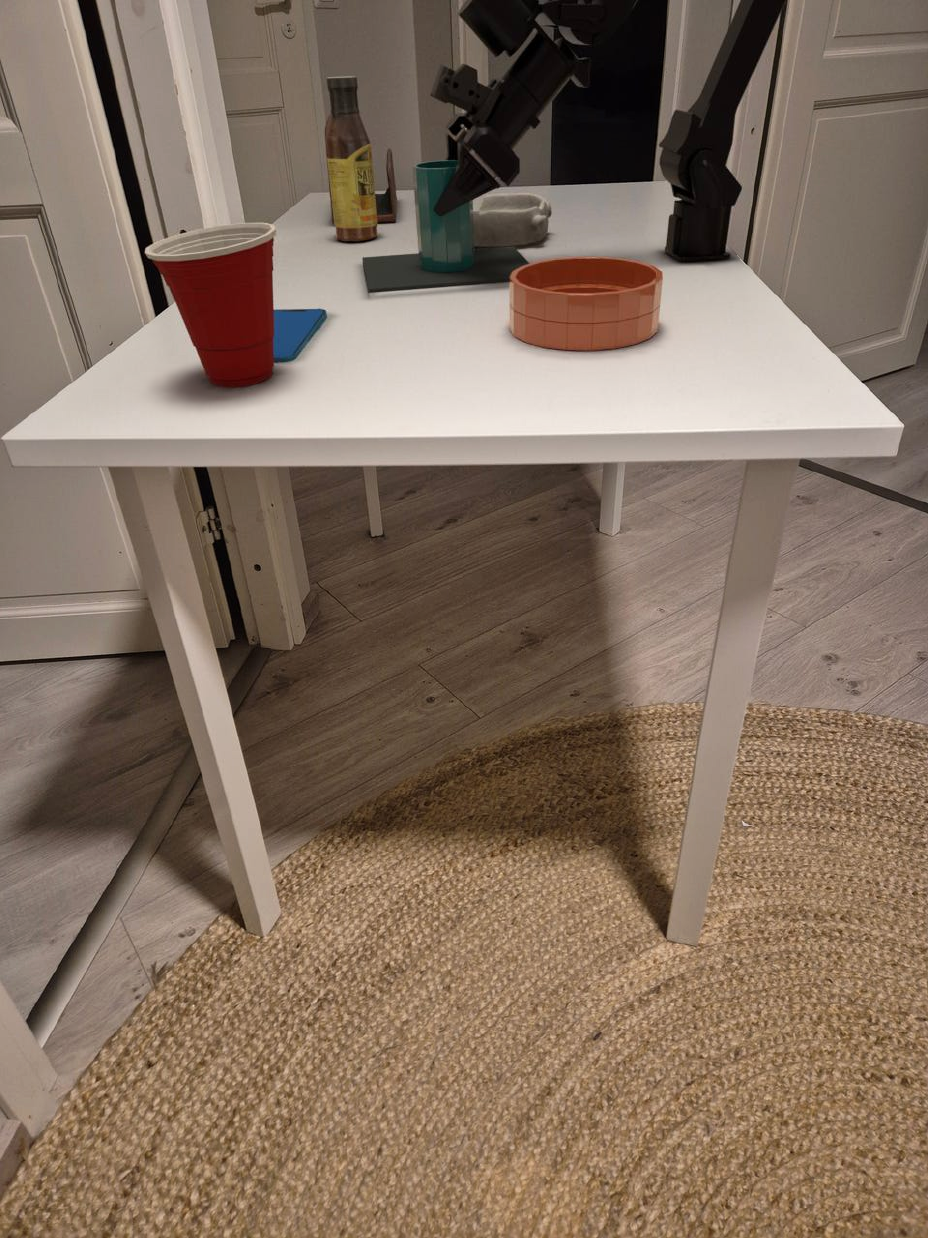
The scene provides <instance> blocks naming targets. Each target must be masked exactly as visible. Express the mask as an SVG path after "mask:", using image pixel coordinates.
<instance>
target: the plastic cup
mask: <svg viewBox="0 0 928 1238" xmlns="http://www.w3.org/2000/svg"><path fill="white" fill-rule="evenodd" d="M276 236H277V228H276V226H275V224H272V223H266V222H238V223H231V224H229V223H228V224H221V225H215V226H210V227H204V228H199V229H195V230H191V231H185V232H183V233H179V234H175V235H172V236H169V237H166V238H163V239H161V240H158V241H155V242H154V243H152V244H150V245H148V246H146V247H145V250H144V254H145V257H147V259H149V260H151V262H152V263H153V264H154V265H155V267H157V269H158V272H159V274H160V275H161V276H162V278H163V280H164V282H165V284H166V286H167V287H168V288H169V291H170V294H171V296H172V298H173V300H174V302H175V305H176V307H177V309H178V312H179V314H180V317H181V319H182V322H183V324H184V327H185V329H186V331H187V334H188V336H189V339H190V341H191V343H192V346H193V347H194V348H195V350H196V352H197V353H196V354H197V355H198V358H199V360H200V362H201V365H202V368H203V370H204V373H205V376H206V377H207V378H208V380H209V382H210V383H211V384H213V385H215V386H218V387H225V388H229V387H230V388H239V387H245V386H246V387H247V386H251V385H256V384H258V383H262V382H263V381H265V380H268V379H270V378H271V376H272V375H273V374H274V366H275V362H274V351H273V337H274V310H275V309H274V280H273V279H274V277H273V275H274V273H273V271H274V259H273V258H274V246H275V245H274V241H275V237H276Z"/></svg>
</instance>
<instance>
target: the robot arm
mask: <svg viewBox="0 0 928 1238" xmlns="http://www.w3.org/2000/svg"><path fill="white" fill-rule="evenodd" d="M638 1H639V0H464V2H463V4H462V6H461V7H460V9H459V10H458V12H457V15H458V17H460V19H461V20H462V21H463V23H464V24H466V25H467V27H468V28H469V29H470V30H471V31H472V33H473V34H474V35H475V36H476V37H477V39H478V40H479V41H480V42H481V43H482V44H483V45H484V46H485V48H486V49H487V50H488V51H489V52H490V53H491V54H492V55H493V57H494V58H497V57H499V56H501V55H502V54H503V53H504V52H505V55H506V56H507V57H508V58H512V56H513V55H515V54H516V53H517V52H518V51H519V50H520V48H521V47H523V45H524V44H525V42H526V41H527V39H528V38H529V37H530V35H531V34H534V35H533V36H532V37H531V39H529V41H528V42H527V44H526V45H525V47H523V49H522V50H521V52H520V53H519V54H518V56H517V57H516V58H515V60H514V61H513V62H512V63H511V65H509V67H508V68H507V69H506V71H505V72H504V73H503V75H502V76H501V77H500V78H492V79H491V81H490V82H489V83H488V84H487V85H484V84H483V83H480V82H479V78H478V77H479V76H478V75H479V74H478V69H476V68H474V67H472V66H470V65H468V64H465V63H461V65H460V66H459V67H458V68H457V69H456V70H454V69H452V68H450V67H448V66H445V65H443V64H439V68H438V70H437V73H436V76H435V80H434V82H433V85H432V89H431V91H430V95H429V96H430V97H432V98H434V99H436V100H438V101H440V102H442V103H444V104H450V105H453V106H455V107H457V108H458V109H461V110H462V111H465V112H461V113H455V114H454V115H453V116H452V117H451V118H450V120H449V121H448V123H447V124H446V125H445V128H446V129H447V131H449V132H450V134H449V133H448V132H445V141H446V142H445V143H446V156H445V158H444V160H458V166H457V168H456V169H455V171H454V173H453V175H452V176H451V178H450V180H449V182H448V183H447V185H446V187H445V189H444V191H443V192H442V194H441V196H440V198H439V199H438V201H437V203H436V205H435V207H434V209H433V210H434V212H435V213H436V214H437V215H438V216H440V217H441V216H443V215H445V214H447V213H449V212H451V211H452V210H454V209H456V208H458V207H460V206H462V205H464V204H466V203H468V202H470V201H472V200H473V201H474V200H476V199H477V198H479V197H481V196H483V195H484V196H485V195H487V193H490V192H492V191H494V190H496V189H497V190H498V189H500V188H501V187H502V185H501V184H500V183H499V182H498V179H499V180H500V181H501V182H502V183H503V184H504V185H505V186H506V187H509V186H510V185H511V184H512V183H513V181H514V180H515V179H516V178H517V176H518V175H520V173H521V158H520V157H518V155H517V154H516V151H514V149H515V147H517V145H518V144H519V142H520V141H521V140H522V139H523V138H524V136H525V135H526V134H527V133H528V132H529V130H530V129H533V130H535V129H536V128H537V127H538V126H539V125H540V123H541V120H540V119H539V118H540V117H541V115H542V114H543V113H544V112H545V110H546V109H547V108H548V107H549V105H551V103H552V102H553V101H554V99H555V98H556V97H557V95H559V93H560V92H561V91H562V90H563V88H565V86H566V84H567V83H568V82H569V81H570V80H571V81H572V82H573V83H574V84H575V86H576V87H579V88H582V89H583V88H584V89H587V88H589V87H590V84H591V81H590V66H591V63H592V60H591V58H589V57H581V58H579V57H578V56H577V55H576V53H575V52H574V51H573V49H572V48H571V47H570V46H569V44H568V43H567V42H566V41H568V42H570V43H571V44H573V45H581V46H598V45H601V44H603V43H605V42H606V41H607V40H609V39H610V38H611V37H613V35H614V34H615V33H616V31H617V30H618V29H619V27H620V26H621V25H622V23H623V22H624V21H625V20H626V18H627V17H628V16H629V15H630V13H632V11H633V10H634V8H635V6H636V5H637V3H638ZM786 2H787V0H739V3H738V5H737V7H736V10H735V12H734V15H733V17H732V19H731V22H730V24H729V27H728V29H727V31H726V33H725V35H724V38H723V40H722V42H721V45H720V47H719V49H718V52H717V54H716V56H715V59H714V61H713V63H712V66H711V68H710V70H709V73H708V74H707V77H706V79H705V80H706V81H705V82H704V85H703V87H702V89H701V91H700V94H699V95H698V97H697V99H696V100H695V102H694V103H693V104H692V106H690V108H689V109H688V110H687V111H685V110H680V109H675V110H673V113H672V115H671V118H670V121H669V127H668V129H667V132H666V134H665V136H664V138H663V139H662V140H661V141H660V143H659V144H658V147H659V148H661V149H662V150H661V152H660V157H659V167H660V170H661V174H662V176H663V177H664V179H665V181H667V182H668V183H670V189H671V193H672V196H673V197H674V198H676V199H677V198H678V199H680V200H674V201H673V210H672V213H670V214H669V216H668V222H667V230H666V231H667V232H666V242H665V246H664V252H666V253H667V254H669V255H670V256H671V257H673V258H675V259H676V260H677V261H679V262H692V261H693V262H695V261H707V260H708V261H709V260H719V259H730V258H731V255H732V254H731V253H730V252H729V251H728V250H726V249H727V242H728V235H729V230H730V229H729V228H730V220H731V213H732V207H734V206H735V205H736V203H737V201H738V199H739V197H740V195H741V193H742V191H743V186H742V185H741V183H740V182H739V181H738V180H737V178H736V177H735V176H734V174H733V173H732V172H731V171H730V169H729V168H728V167H727V166H726V165H727V162H728V160H729V156H730V153H731V149H732V146H733V141H734V132H735V123H736V122H735V121H736V115H737V111H738V108H739V106H740V104H741V101H742V100H743V97H744V95H745V94H746V93H745V92H746V91H747V88H748V87H749V83H750V82H751V79H752V77H753V75H754V73H755V71H756V68H757V67H758V64H759V62H760V59H761V57H762V55H763V53H764V51H765V48H766V46H767V44H768V42H769V41H770V37H771V35H772V33H773V30H774V29H775V26H776V24H777V22H778V20H779V18H780V16H781V13H782V12H783V9H784V6H785V5H786ZM543 27H547V28H551V29H558V30H559V32H560V34H561V35H562V36H563V37H558V38H557V39H556V40H553V39H552V38H551V37H550V36H549V35H548V33H546V31H545V30H544V29H543ZM565 40H566V41H565ZM451 134H452V136H451Z"/></svg>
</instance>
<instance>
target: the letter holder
mask: <svg viewBox="0 0 928 1238" xmlns="http://www.w3.org/2000/svg"><path fill="white" fill-rule="evenodd" d="M328 115H329V116H328V117H327V119H326V122H325V126H324V142H325V155H326V157H325V158H327V157H328V154H327V146H326V133H327V129H328V127H329V125H330V122H331V119H332V115H331V114H328ZM393 159H394V158H393V151H392V148H390V147H389V148H388V149H387V151H386V164H385V167H386V168H385V169H386V171H385V172H386V179H387V185H388V186H387V188H386V190H385V192H384V193H375V200H376V212H377V224H383V223H395V222H396V221H397V207H398V205H397V203H398V201H397V200H398V197H397V187H396V177H395V169H394V161H393ZM326 168H327V178H328V190H329V198H330V209H331V222H332V225H333V226H334V227H335V225H334V217H333V208H332V199H331V190H330V180H329V171H328V162H327V161H326Z"/></svg>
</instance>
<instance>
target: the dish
mask: <svg viewBox="0 0 928 1238" xmlns="http://www.w3.org/2000/svg"><path fill="white" fill-rule="evenodd" d="M552 212H553V210H552V205H551V203H550V201H549V200H547V199H545V198H544V197H542V196H541V195H538V194H535V193H530V192H529V193H526V192H525V193H524V192H523V193H522V192H518V193H517V192H513V193H512V192H510V193H509V192H508V193H495V194H485V195H484V196H483V197H482V199H481V201H480V202H479V206H478V207H477V209H473V222H474V247H481V248H483V247H485V248H498V247H512V246H522V245H523V246H524V245H530V244H533V243H537V242H539V241H542V240H543V239H544V238H545V237H546V236H547V234H548V230H549V218H550V217H551V216H552Z"/></svg>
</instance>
